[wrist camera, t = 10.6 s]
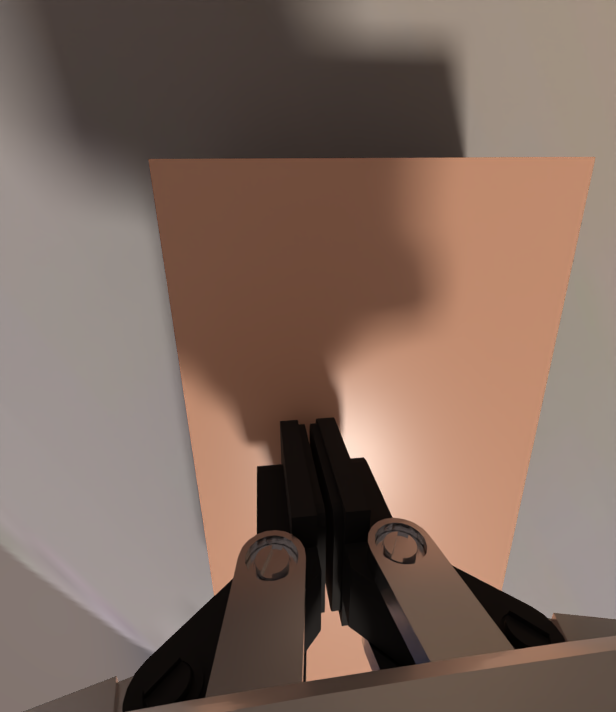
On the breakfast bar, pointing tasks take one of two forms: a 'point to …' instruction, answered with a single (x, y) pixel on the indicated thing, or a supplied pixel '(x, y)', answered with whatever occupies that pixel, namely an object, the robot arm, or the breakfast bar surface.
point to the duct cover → (370, 335)
